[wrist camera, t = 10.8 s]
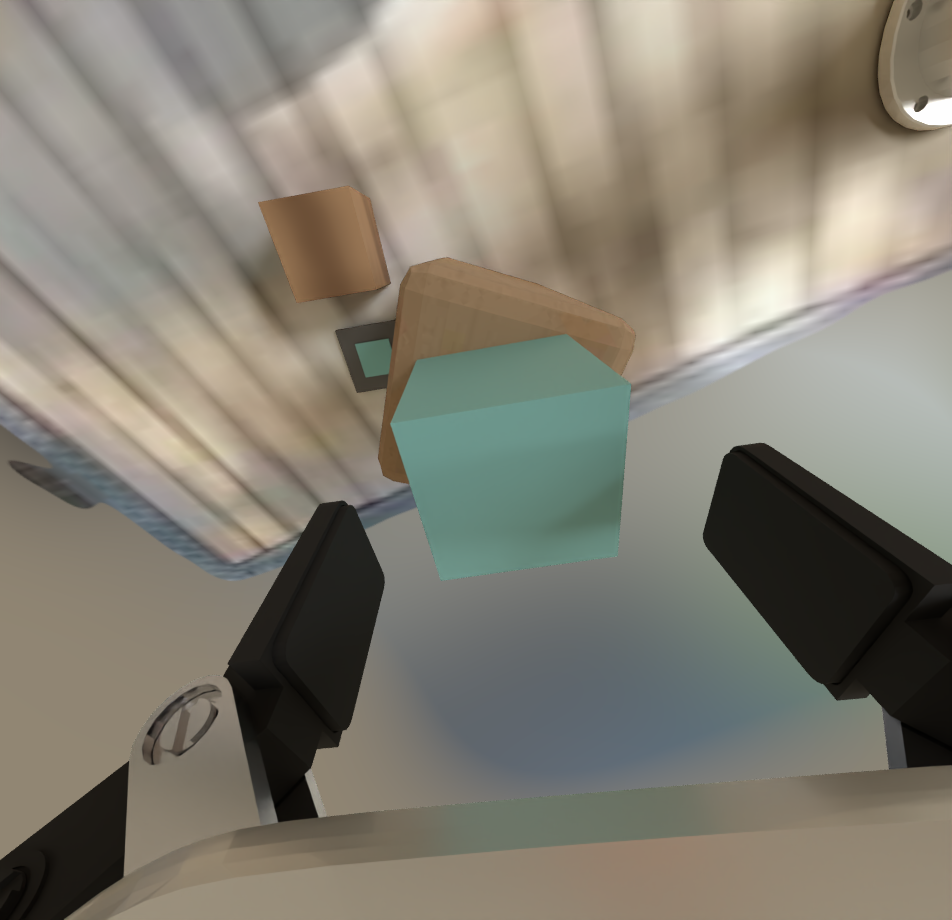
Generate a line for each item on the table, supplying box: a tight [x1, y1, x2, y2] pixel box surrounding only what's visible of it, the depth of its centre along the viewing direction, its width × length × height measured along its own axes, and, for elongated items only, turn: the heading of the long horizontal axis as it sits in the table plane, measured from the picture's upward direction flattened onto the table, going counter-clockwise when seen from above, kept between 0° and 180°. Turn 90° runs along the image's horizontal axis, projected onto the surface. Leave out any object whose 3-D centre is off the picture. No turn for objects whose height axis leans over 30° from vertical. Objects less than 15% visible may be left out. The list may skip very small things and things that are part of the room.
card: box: [336, 320, 396, 393], centre depth 33 cm, size 6×6×1 cm
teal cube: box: [390, 334, 631, 581], centre depth 13 cm, size 6×6×6 cm
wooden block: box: [378, 258, 635, 484], centre depth 24 cm, size 10×10×20 cm
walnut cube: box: [258, 186, 391, 303], centre depth 26 cm, size 6×6×6 cm
